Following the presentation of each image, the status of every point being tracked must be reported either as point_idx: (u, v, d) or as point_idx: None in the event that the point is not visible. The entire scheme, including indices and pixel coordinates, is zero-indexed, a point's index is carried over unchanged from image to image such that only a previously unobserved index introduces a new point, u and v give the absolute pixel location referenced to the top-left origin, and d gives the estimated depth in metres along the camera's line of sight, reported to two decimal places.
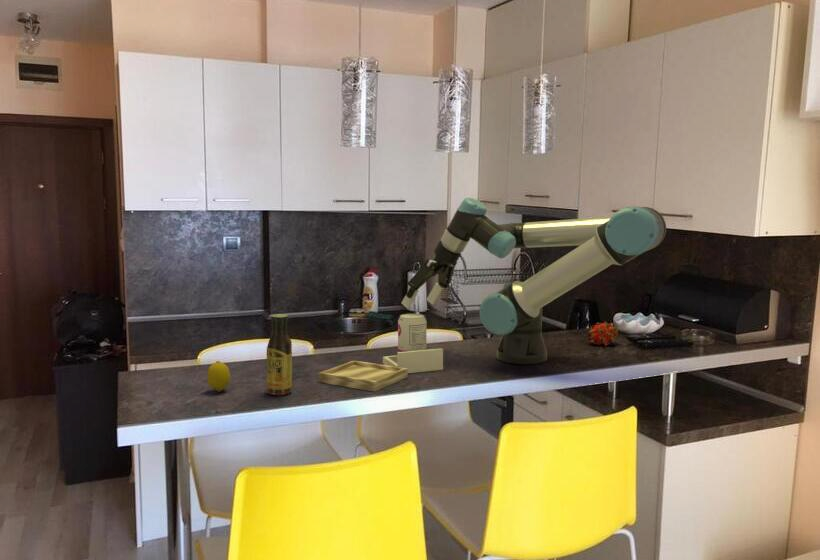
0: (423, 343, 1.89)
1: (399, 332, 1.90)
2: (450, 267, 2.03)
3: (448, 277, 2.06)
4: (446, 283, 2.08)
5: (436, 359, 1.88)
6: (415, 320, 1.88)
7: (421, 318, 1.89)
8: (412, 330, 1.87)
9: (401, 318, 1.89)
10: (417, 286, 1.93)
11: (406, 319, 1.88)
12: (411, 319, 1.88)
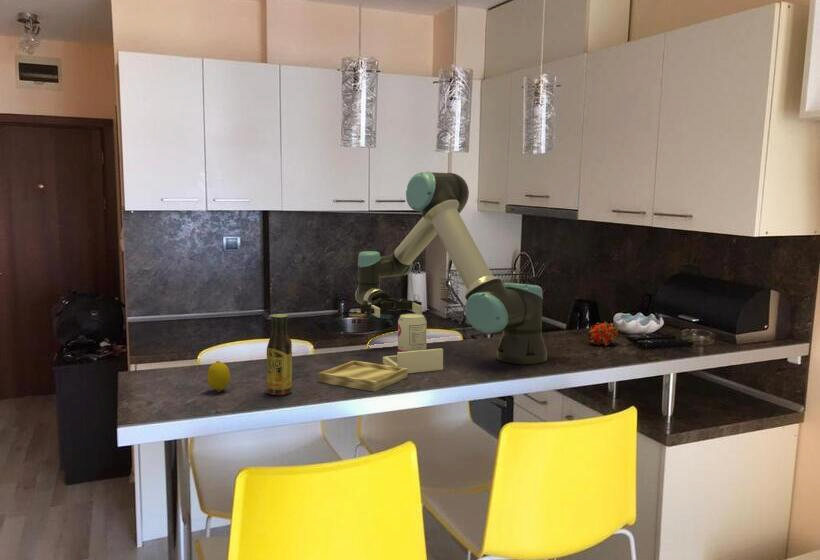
0: (423, 343, 1.89)
1: (399, 332, 1.90)
2: None
3: (411, 302, 2.12)
4: (418, 304, 2.10)
5: (436, 359, 1.88)
6: (415, 320, 1.88)
7: (421, 318, 1.89)
8: (412, 330, 1.87)
9: (401, 318, 1.89)
10: (367, 305, 2.05)
11: (406, 319, 1.88)
12: (411, 319, 1.88)
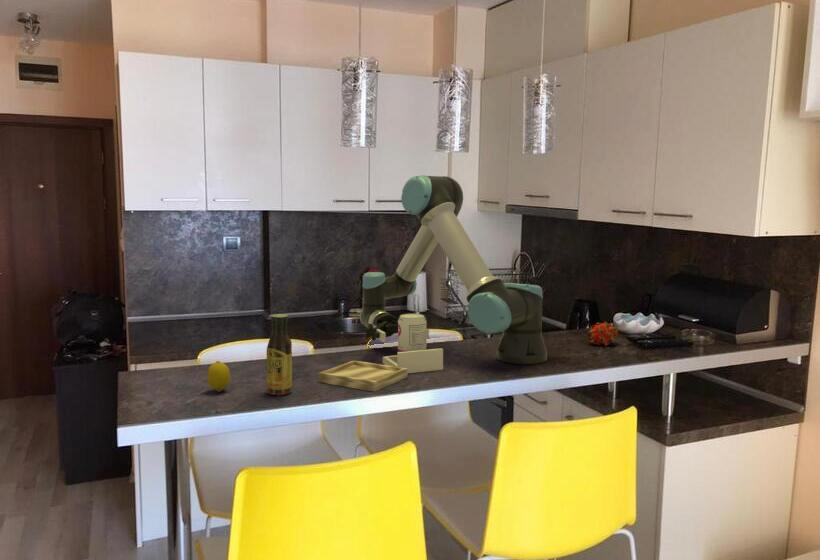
0: (423, 343, 1.89)
1: (399, 332, 1.90)
2: None
3: None
4: None
5: (436, 359, 1.88)
6: (415, 320, 1.88)
7: (421, 318, 1.89)
8: (412, 330, 1.87)
9: (401, 318, 1.89)
10: None
11: (406, 319, 1.88)
12: (411, 319, 1.88)
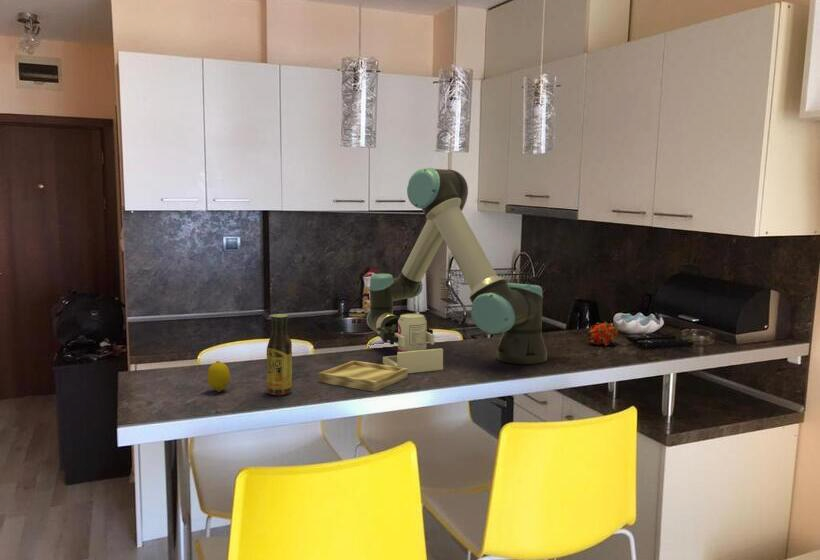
0: (423, 343, 1.89)
1: (399, 332, 1.90)
2: None
3: None
4: (429, 331, 1.97)
5: (436, 359, 1.88)
6: (415, 320, 1.88)
7: (421, 318, 1.89)
8: (412, 330, 1.87)
9: (401, 318, 1.89)
10: (389, 333, 1.92)
11: (406, 319, 1.88)
12: (411, 319, 1.88)
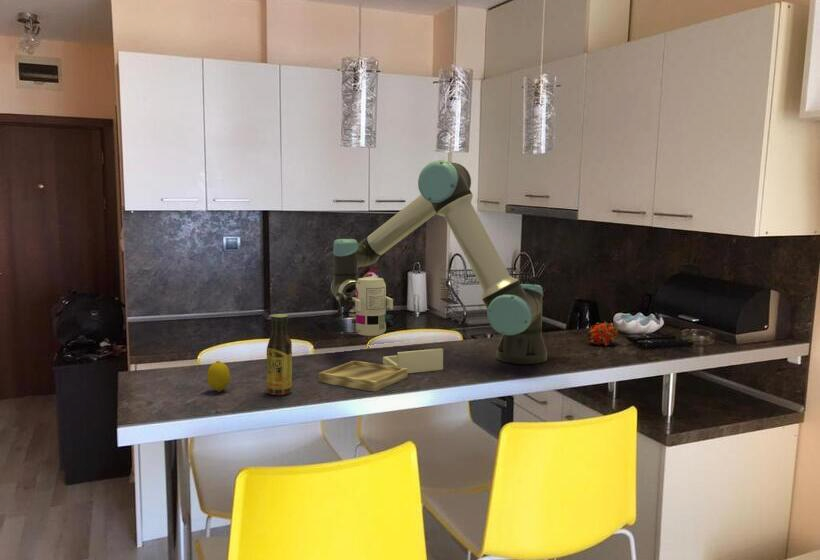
0: (381, 307, 1.78)
1: (356, 296, 1.79)
2: None
3: None
4: (390, 297, 1.85)
5: (436, 359, 1.88)
6: (373, 283, 1.76)
7: (379, 281, 1.78)
8: (369, 294, 1.76)
9: (358, 281, 1.78)
10: (347, 298, 1.81)
11: (363, 282, 1.77)
12: (368, 282, 1.76)
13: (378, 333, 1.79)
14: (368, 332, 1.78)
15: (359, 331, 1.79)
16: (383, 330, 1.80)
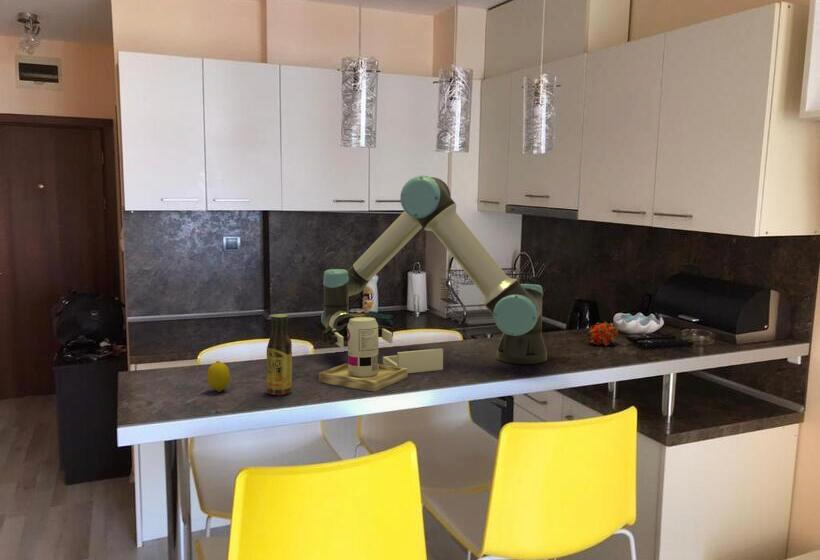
0: (374, 348, 1.75)
1: (348, 337, 1.76)
2: None
3: (382, 328, 1.86)
4: (389, 330, 1.84)
5: (436, 359, 1.88)
6: (365, 324, 1.73)
7: (372, 322, 1.75)
8: (361, 335, 1.73)
9: (350, 322, 1.75)
10: (330, 333, 1.79)
11: (355, 323, 1.74)
12: (360, 323, 1.73)
13: (371, 374, 1.75)
14: (361, 374, 1.74)
15: (351, 373, 1.76)
16: (376, 371, 1.76)
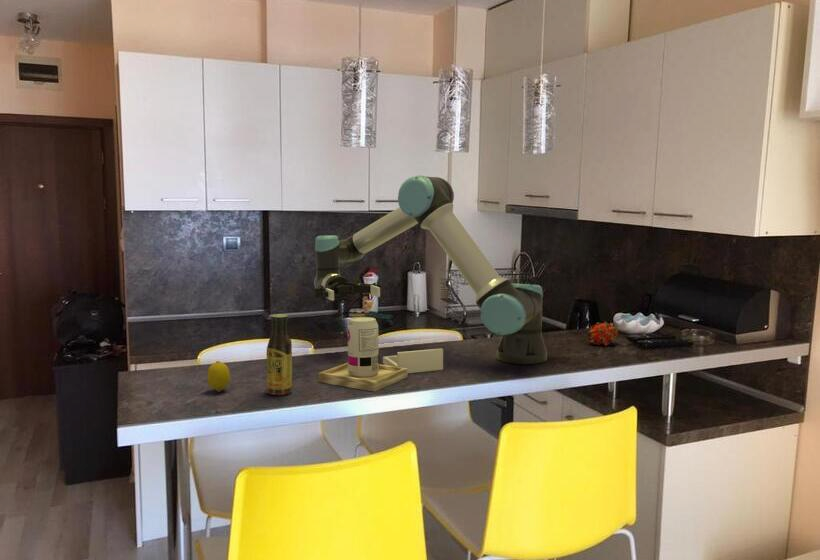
0: (374, 348, 1.75)
1: (348, 337, 1.76)
2: None
3: None
4: (377, 286, 1.97)
5: (436, 359, 1.88)
6: (365, 324, 1.73)
7: (372, 322, 1.75)
8: (362, 335, 1.73)
9: (350, 322, 1.75)
10: (321, 289, 1.92)
11: (355, 323, 1.74)
12: (361, 323, 1.73)
13: (371, 374, 1.75)
14: (361, 374, 1.74)
15: (352, 373, 1.76)
16: (376, 371, 1.77)
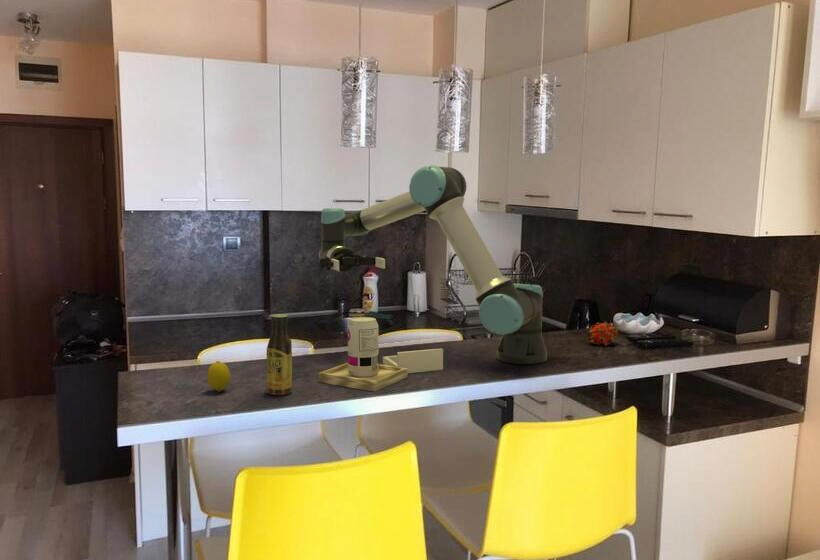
0: (374, 348, 1.75)
1: (348, 337, 1.76)
2: None
3: None
4: (382, 259, 1.98)
5: (436, 359, 1.88)
6: (365, 324, 1.73)
7: (372, 322, 1.75)
8: (362, 335, 1.73)
9: (350, 322, 1.75)
10: None
11: (355, 323, 1.74)
12: (361, 323, 1.73)
13: (371, 374, 1.75)
14: (361, 374, 1.74)
15: (352, 373, 1.76)
16: (376, 371, 1.77)
